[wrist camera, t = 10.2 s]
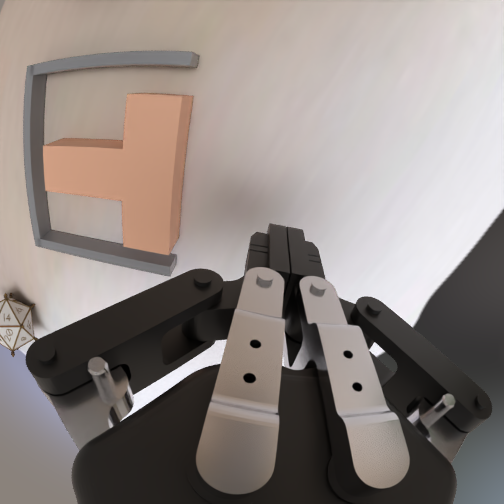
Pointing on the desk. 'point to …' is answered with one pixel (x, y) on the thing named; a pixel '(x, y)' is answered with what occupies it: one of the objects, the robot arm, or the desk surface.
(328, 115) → the desk surface
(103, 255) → the charcoal bay
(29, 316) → the game die
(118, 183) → the T block
